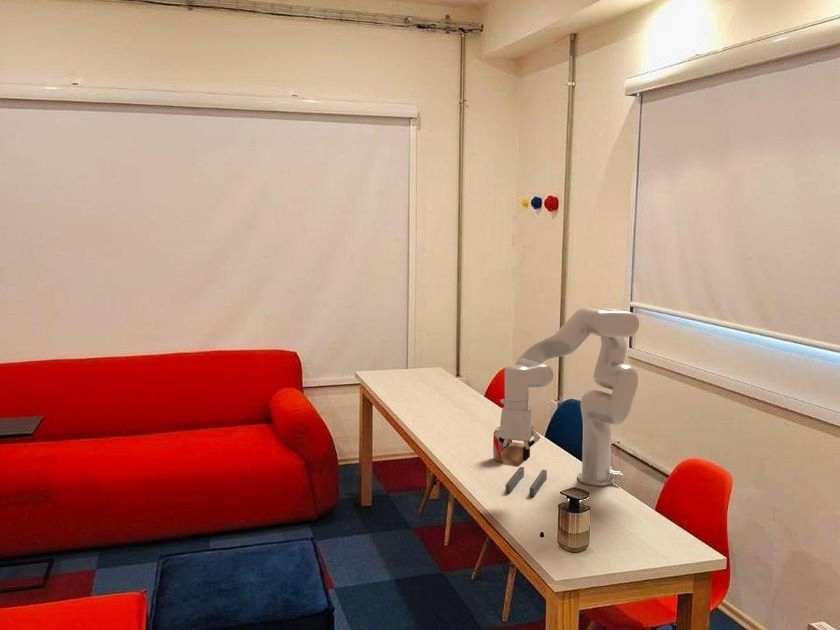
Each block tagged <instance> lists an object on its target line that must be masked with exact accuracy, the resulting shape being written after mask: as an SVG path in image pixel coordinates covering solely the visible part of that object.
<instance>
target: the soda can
mask: <svg viewBox="0 0 840 630" xmlns="http://www.w3.org/2000/svg"><path fill="white" fill-rule="evenodd" d="M499 428H500V426H497V427H495V430H494V431H493V434H494V433H495V432H496V431H497V430H498V429H499ZM512 442H513V440H510V441H509V444H511V443H512ZM492 443H493V446H492V447H493V448H492V451H493V452H492V453H493V455H492V456H493V459H494V460H496V461H497V462H500V463H503V449H504V446H503V444H502V443H501V442H500V441H499V439H498V438H497V437H495V436H494V435H493V441H492Z"/></svg>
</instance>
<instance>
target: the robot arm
mask: <svg viewBox="0 0 840 630" xmlns="http://www.w3.org/2000/svg"><path fill="white" fill-rule="evenodd" d="M639 320H640V319H639V318H638V316H637V314H635V313H634V312H630V311H625V310H621V309H615V308H607V307H602V308H599V309H598V308H597V309H596V308H590V307H581V308H579V309H577V310H576V311H575V312H574V313H572V315H571V317H570V318H569V319H567V320H566V322H565V323H564V324H563V325H562V326H561V327H560V328H559V329H558V330H557V331H556V332H555V333H554V334H553V335H551V336H549V337H546V338H545V339H542V340H541V341H539V342H537V343H535V344H533V345H531V346H530V347H529V348H528V349H526V350H525V352H523V353H522V355H520V357H519V358H518V359H517V360H516V361H515V364H511V365H508V366H506V367H505V369H504V398H503V399H502V398H501V399H500V404H503V405H504V406H503V407H502V408H501V414H500V423H499V427H500V428H499V429H498V430H497V431H496V432H495V431H494V432H495V433H494V432H493V437H494V436H495V437H497V438H498V439H499V441H500V442H501V443H502V444H503V446H504V448H506V447H507V446H508V445H510V444H509V441H510V440H512V441H517V442H518V441H519V442H523V444H525V449H524V462H527V461H528V459H529V458H530V457H531V447H532V446H534V444H536V443H537V442H539V441H540V440H541V436H540V435H539V434H538V433H537V432H536V430H535V429H534V422H533V421H534V419H533V414H532V409H531V407H530V405H529V404H530V401H529V400H530V396H529V393H530V392H529V391H530V388H544V387H547V386H549V385H550V384H551V383H552V382H553V379H554V371H553V369H552V368H551V367H550V366H549V365H547V364H545V363H544V362H546V361H548V360H550V359H554V358H558V357H560V358H561V357H565V356H569V355H571V354H573V353H574V352H575V351H576V350H577V349H578V348H579V347H580V346H582V344H583V342H585V341H586V340H587V338H588V337H589V336H591V335H592V336H597V337H600V341H601V342H600V343H601V345H600V350H599V354H598V357H597V359H596V360H597V361H596V363H595V366H594V371H593V377H592V378H593V382H594V383H595V385H597V386H598V387H600V388H604V389H607V390H610V391H612V392H611V393H608V392H605V391H602V390H598V389H596V390H595V389H591V390H588V391H586V392H585V393H584V394H583V396H582V397H581V399H580V411H581V417H582V455H581V458H582V460H581V464H582V465H581V467H582V468H581V471H580V472H578V474H577V475H576V476H577V478H576V479H577V480H578V481H579V482H581V483H583V484H585V485H589V486H595V487H604V486H605V487H606V486H610V485H612V484H614V482H615V481H616V480H615V479H618V480H623V479H624V473H621V471H617V470H614V469H613V466H611V461H612V460H611V454H612V453H611V451H612V450H611V449H612V427H611V425H614V426H619V425H623V423H625V422H626V421H627V419H628V417H629V416H630V413H631V409H632V408H633V407H632V406H633V404H634V399H635V396H636V393H637V390H638V386H639V376H638V375H639V374H638V373H637V370H636V369H635V368H634V367H632V366H631V365H628V364H624V363H625V358H626V354H627V341H626V340H625V338H629V337H633V336H634V335H635V334H636V333H637V332H638V330H639V329H640V328H639V327H640V321H639ZM532 437H533V439H532Z"/></svg>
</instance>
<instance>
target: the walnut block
mask: <svg viewBox="0 0 840 630" xmlns="http://www.w3.org/2000/svg"><path fill="white" fill-rule="evenodd" d="M524 449H525V444H524V442H523V443H522V442H518V441H517V442H516V441H512V443H511V444H510V445H508V446H507V447H506V448H504V449H503V462H502V464H503V465H504V466H505V465H506V466H510V467H516V468H518V467H521V465H522V464H524V462H525V461H524Z"/></svg>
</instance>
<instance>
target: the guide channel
mask: <svg viewBox="0 0 840 630" xmlns="http://www.w3.org/2000/svg"><path fill="white" fill-rule="evenodd" d="M547 473H548V471H547V469H542V470H541V471H540V473H538V475H537V476H536V478H535V479H534V481H533V483H532V484H531V485H530V487H529V495H528V496H529V497H530V498H534V497H535V496H536V495H537V493H538V492H539V491H540V489H541V487H542V485H544V483H545V482H546V480H547V475H548V474H547ZM524 476H525V467H523V466H519V468H518V469H517V470H516V471H515V473H514V474H513V475H512V476H511V477H510V478H509V480H508V481H507V482H506V483H505V494H510V495H511V493H512V492H513V491H514V489H515V488H516V486H517V485H518V484H519V483H520V481H521V480H522V479H523V477H524Z"/></svg>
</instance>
